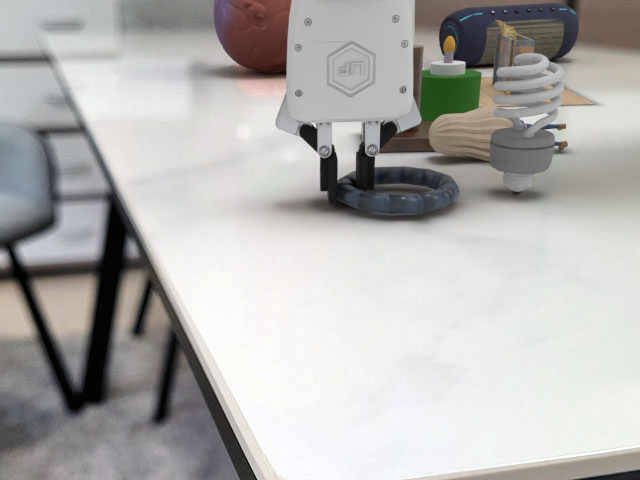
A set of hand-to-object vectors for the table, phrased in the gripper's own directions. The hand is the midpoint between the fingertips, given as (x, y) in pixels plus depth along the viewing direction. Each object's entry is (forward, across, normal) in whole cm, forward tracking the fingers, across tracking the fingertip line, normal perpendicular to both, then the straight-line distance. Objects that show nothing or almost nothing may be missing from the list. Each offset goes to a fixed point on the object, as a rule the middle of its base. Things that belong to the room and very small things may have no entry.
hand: (346, 197), depth 70 cm
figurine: (+1, +17, +15) cm, 23 cm away
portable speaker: (+1, +35, +85) cm, 92 cm away
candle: (+1, +15, +37) cm, 40 cm away
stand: (+1, +8, +23) cm, 24 cm away
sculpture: (+1, -8, +82) cm, 82 cm away
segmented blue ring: (-1, +4, 0) cm, 4 cm away
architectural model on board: (+1, +28, +56) cm, 63 cm away
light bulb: (+1, +15, +2) cm, 15 cm away
